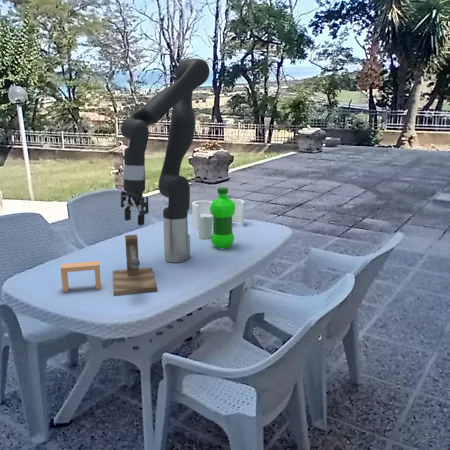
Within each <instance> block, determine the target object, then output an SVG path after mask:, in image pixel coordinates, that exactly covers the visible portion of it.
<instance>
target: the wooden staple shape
mask: <svg viewBox="0 0 450 450" xmlns="http://www.w3.org/2000/svg"><path fill="white" fill-rule="evenodd" d="M100 267H101V265H100V261H99V260H96V261H95V260H94V261H81V262H67V263H61V265H60V274H61V275H60V277H61V285H62V293H68V292H69V288H70V287H69V277H68V273H72V272H85V271H94V280H95V290H102V289H101V288H102V280H101V269H100Z"/></svg>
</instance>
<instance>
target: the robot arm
mask: <svg viewBox="0 0 450 450" xmlns="http://www.w3.org/2000/svg"><path fill="white" fill-rule="evenodd" d="M210 72H211V71H210V65H209V64H208V63H207V62H206V61H205V60H204V59H202V58H197V57H196V58H185V59H182V60H180V62H178V65H177V68H176V72H175V82H173V83H172V84H170V85H169V86H168V87H165V88H164V89H162V90H161V91H159V92H158V93H157V94H155V95H154V96H152V97H151V98H150V99H149V100H148V102H146V103H145V104H144V106H143V107H141V108H139V109H138V110H136V111H135V112H134V113H132V114H131V115H129V116H128V117H127V118H126V119H124V120H123V122H122V124H121V126H120V132H121V135H122V136H123V138H125V139H128V140H129V143H128V147H126V148H124V152H123V153H124V154H123V156H124V157H123V158H124V159H123V161H124V162H123V173H122V174H123V175H122V176H123V178H122V179H123V182H122V183H123V190H121V191H120V207H121V208H123V211H124V221H126V222H127V221H130V220H131V218H132V217H131V216H132V210H131V209H132V207H133V208H134V210H136V212H137V213H136V214H137V225H138V226H144V225H145V215H147V214H149V196H143V193H144V192H145V191H146V167H145V166H146V165H145V163H146V161H145V159H146V156H145V155H146V153H145V152H146V150H147V145H148V142H149V136H150V130H149V126H150V125H154V124H156V123H158V122H159V121H160V120H161V119H162V118H163V117H164V116H165V115H167V113H168V112H169V111H170V110H171V109H172V113H171V119H170V124H169V129H168V130H169V131H168V137H167V138H168V139H167V144H166V148H165V149H166V150H165V156H164V161H163V164H162V169H161V172H160V177H159V179H158V191H159V193H160V194H161V195H162V196H163V197H165V198H168V206H166V207H165V208H163V211H162V214H163V215H162V216H163V217H162V219H163V220H162V221H163V222H162V223H163V246H164V247H163V248H164V249H163V250H164V261H166V262H167V263H183V262H187V260H189V259H191V235H190V234H189V229H188V227H189V226H188V223H189V221H188V218H189V217H188V212H189V210H190V200H191V199H190V196H191V188H190V187H191V186H190V182H189V180H188V179H187V178H186V177H185V176H182V175H180V172H181V165H182V162H183V159H184V157H185V156H186V154H187V152H188V151H189V149H190V147H192V144H193V142H194V141H193V140H194V137H195V131H196V123H197V122H196V117H195V112H194V111H195V110H194V107H193V101H192V100H193V91H195V90H196V89H198V88H199V87H200V86H202V85H203V84H204V83H206V82H207V81H208V79H209V76H210Z"/></svg>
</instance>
